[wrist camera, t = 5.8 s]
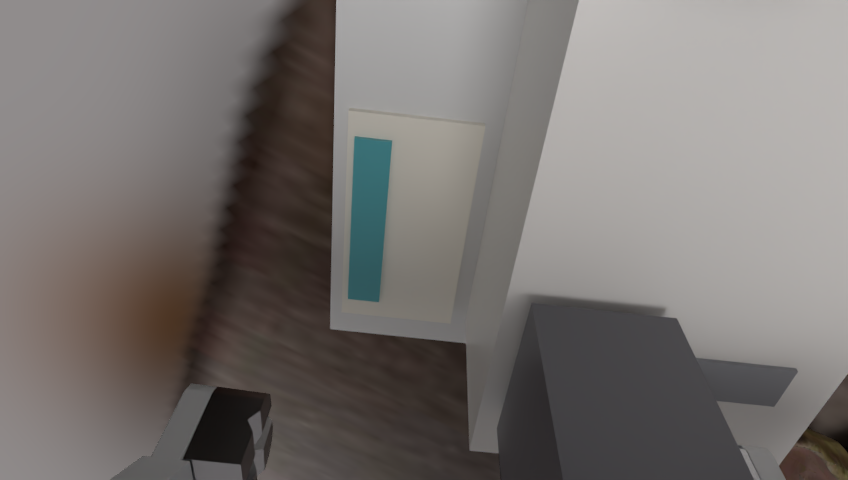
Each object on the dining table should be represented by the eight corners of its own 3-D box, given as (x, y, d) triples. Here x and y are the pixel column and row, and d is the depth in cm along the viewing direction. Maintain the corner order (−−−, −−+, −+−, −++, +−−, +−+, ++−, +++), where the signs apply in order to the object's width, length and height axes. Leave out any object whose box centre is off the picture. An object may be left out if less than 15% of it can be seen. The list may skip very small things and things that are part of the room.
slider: (618, 440, 14) (670, 623, 11) (496, 428, 14) (511, 608, 11) (676, 318, 12) (764, 500, 9) (531, 302, 12) (563, 482, 8)
